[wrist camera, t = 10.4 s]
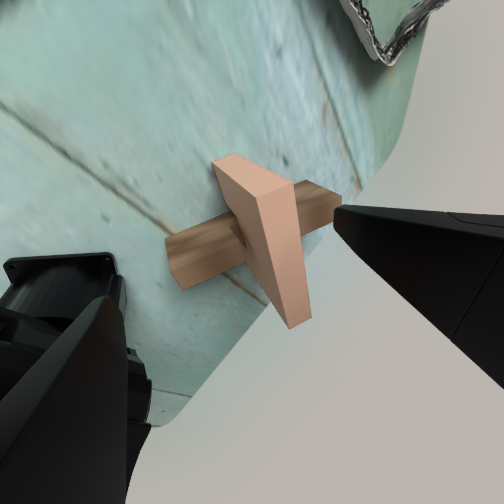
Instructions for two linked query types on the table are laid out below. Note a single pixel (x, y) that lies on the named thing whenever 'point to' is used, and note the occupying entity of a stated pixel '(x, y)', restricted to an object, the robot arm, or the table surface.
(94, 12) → the table surface
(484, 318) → the robot arm
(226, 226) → the cross rail
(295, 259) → the crosspiece
